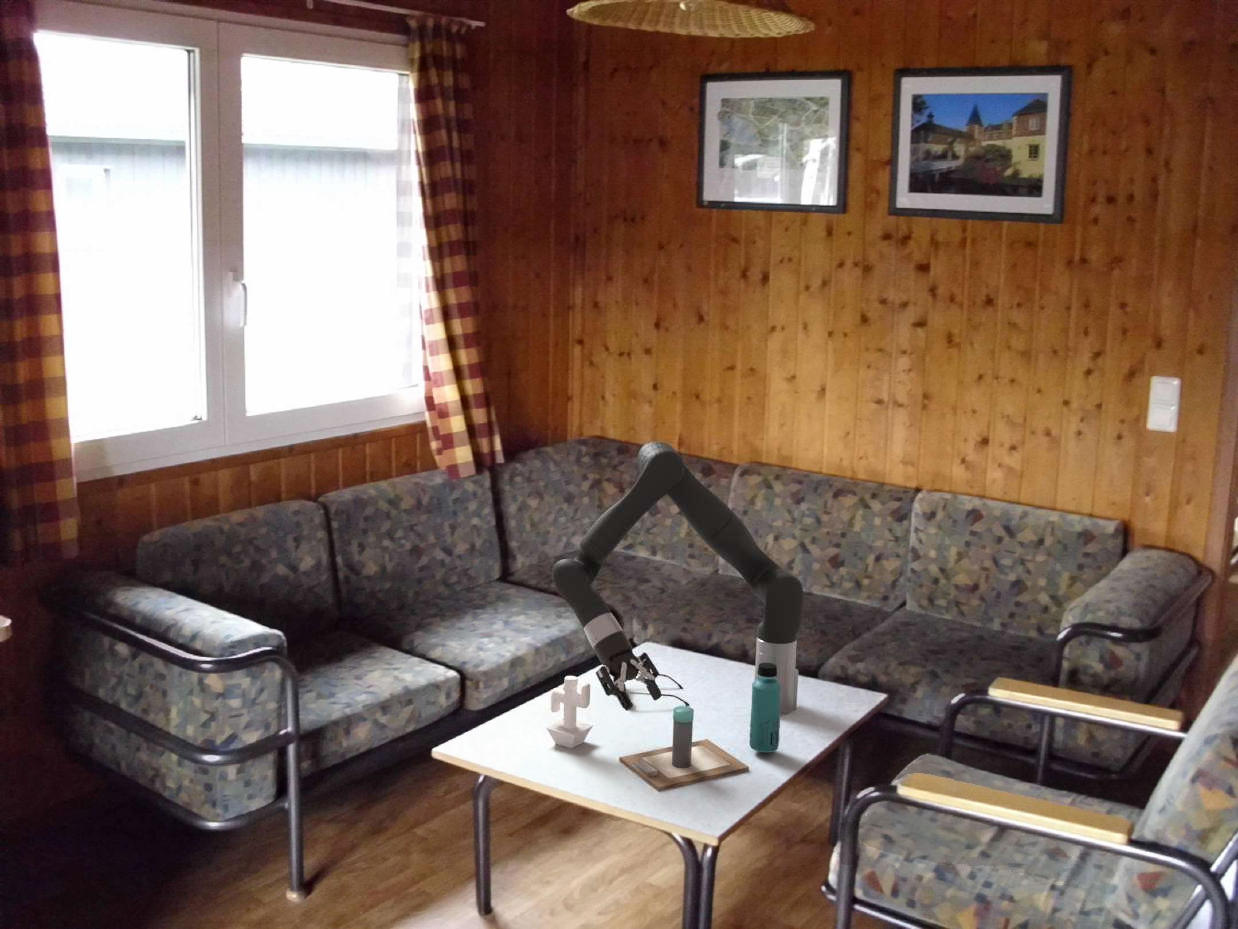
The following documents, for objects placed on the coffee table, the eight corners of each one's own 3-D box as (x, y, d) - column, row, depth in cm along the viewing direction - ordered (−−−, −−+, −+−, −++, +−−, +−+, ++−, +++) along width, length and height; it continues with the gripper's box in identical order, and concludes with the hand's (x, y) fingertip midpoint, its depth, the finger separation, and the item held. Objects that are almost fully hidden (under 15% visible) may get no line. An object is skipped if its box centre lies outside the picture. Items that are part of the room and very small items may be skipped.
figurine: (561, 732, 297) (562, 667, 294) (596, 742, 292) (598, 677, 289) (542, 743, 291) (543, 677, 288) (577, 753, 286) (579, 686, 283)
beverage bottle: (770, 761, 285) (775, 672, 281) (742, 754, 288) (747, 665, 284) (784, 751, 290) (788, 663, 286) (756, 744, 294) (760, 657, 290)
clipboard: (706, 742, 294) (707, 734, 293) (748, 770, 280) (749, 762, 280) (619, 761, 283) (619, 753, 283) (658, 791, 269) (658, 782, 269)
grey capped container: (684, 758, 283) (686, 704, 281) (695, 766, 279) (697, 711, 277) (667, 762, 281) (669, 708, 278) (678, 770, 277) (680, 715, 275)
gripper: (592, 637, 285) (629, 704, 279) (639, 623, 295) (676, 687, 289) (575, 655, 290) (611, 720, 284) (622, 640, 299) (658, 703, 294)
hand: (644, 703), depth 286 cm, fingers open, 8 cm apart
